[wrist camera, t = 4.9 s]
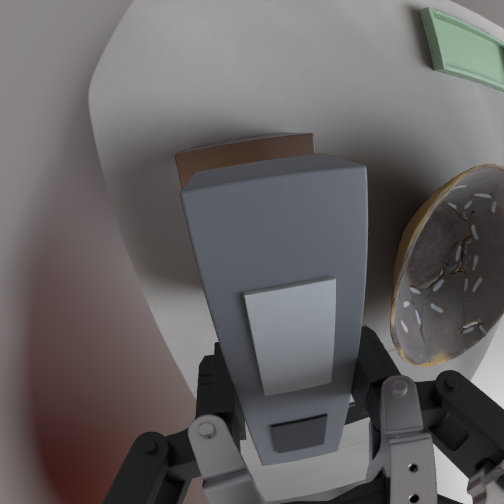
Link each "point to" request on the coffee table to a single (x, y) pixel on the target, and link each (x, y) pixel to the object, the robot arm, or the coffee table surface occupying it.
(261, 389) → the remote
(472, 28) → the tray
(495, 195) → the bowl
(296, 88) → the coffee table surface
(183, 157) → the brown wooden open box
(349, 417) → the smartphone
